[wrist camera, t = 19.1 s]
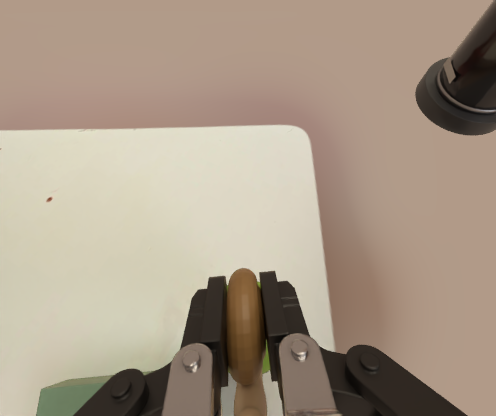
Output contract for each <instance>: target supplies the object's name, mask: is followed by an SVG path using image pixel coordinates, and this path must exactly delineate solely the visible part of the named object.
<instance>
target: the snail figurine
mask: <svg viewBox="0 0 496 416" xmlns="http://www.w3.org/2000/svg"><path fill="white" fill-rule="evenodd" d="M227 291H228V293H227V312H226V326H227V357H228V372H229V373H230V374H231V376H232V378H233V379H234V380H235V381H236V382H237V387H236V394H235V400H234V416H267V404H266V397H265V392H264V388H263V381H262V374H264V373H266V372H268V371H269V370H270V364H269V356H268V348H267V341H266V329H265V319H264V310H263V301H262V293H261V288H260V282H257V279H256V276H255V274H254V273H253V272H252V271H251V270H249V269H246V268H241V269H238V270H236V271H235V272H234V273H233V274H232V276H231V278H230V280H229V285H227Z"/></svg>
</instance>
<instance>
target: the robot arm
mask: <svg viewBox="0 0 496 416" xmlns="http://www.w3.org/2000/svg"><path fill="white" fill-rule="evenodd" d="M435 81H436V87H437V89H438V91H439V93H440V95H441V96H442V97H443V98H444V99H445V100H446V101H447V102H448V103H450V104H451V105H453V106H454V107H456V108H458V109H460V110H462V111H465V112H468V113H472V114H478V115H491V114H496V0H493V2H492V3H491V5H490V6H489V7H488V9H487V10H486V11H485V12H484V14H483V15H482V16H481V18H480V19H479V20H478V22H477V23H476V25H475V26H474V27H473V28H472V30H471V31H470V32H469V34H468V35H467V36H466V38H465V39H464V40H463V41H462V43H461V44H460V45H459V47H458V48H457V49H456V51H455V52H454V53H453V55H452V56H451V57H450V58H448V59H447V60H446V62H445V63H444V64H443V67H442V68H441V69H440V70H439V72H438V73H437V75H436V80H435ZM259 275H260V288H261V293H262V301H263V310H264V319H265V329H266V341H267V348H268V356H269V364H270V371H271V379H272V382H274V381H278V387H279V394H280V398H281V400H282V409H283V416H467V415H466V414H465V413H463V412H462V411H461V410H459V409H458V408H457V407H455V406H454V405H452V404H451V403H450V402H449V401H447V400H446V399H444V398H443V397H442V396H441V395H439V394H438V393H436V392H435V391H434V390H432V389H431V388H430V387H428V386H427V385H426V384H424V383H423V382H422V381H420V380H419V379H418V378H416V377H415V376H413V375H412V374H411V373H410V372H408V371H407V370H406V369H404V368H403V367H402V366H400V365H399V364H398V363H396V362H395V361H393V360H392V359H391V358H389V357H388V356H387V355H386V354H384V353H383V352H381V351H380V350H378V349H376V348H374V347H372V346H368V345H357V346H353V347H352V348H350V349H349V350H348V352H347V354H340V353H336V352H331V351H328V350H325V349H323V348H321V347H320V346H319V345H318V344H317V342H316V341H315V340H314V339H313V338H311V337H310V335H309V332H308V329H307V326H306V323H305V320H304V317H303V314H302V310H301V307H300V305H299V301H298V298H297V295H296V292H295V288H294V287H293V286H292V285H291V284H290V283H289V282H288V281H281V282H277V278H276V274H275V271H268V272H259ZM227 293H228V291H227V284H226V277H225V276H217V277H209V281H208V287H207V289H200V290H198V291H197V292H196V293H195V295H194V296H193V297H192V300H191V305H190V309H189V314H188V318H187V322H186V327H185V331H184V336H183V340H182V345H181V348H180V350H179V351H178V352H177V354H176V355H175V356H174V358H173V360H172V361H171V362H170V363H169V364H168V365H166V366H165V367H163V368H161V369H159V370H156V371H154V372H151V373H149V374H146V375H144V374H143V373H142V372H141V371H140V370H137V369H126V370H123V371H121V372H119V373H117V374H115V375H114V376H113V377H111V378H110V379H109V380H108V381H107V382H106V383H105V384H104V385H103V386H102V387H101V388H100V389H99V390H98V391H97V392H96V393H95V394H94V395H93V396H92V397H91V398H90V399H89V400H88V401H87V402H86V403H85V404H84V405H83V406H82V407H81V408H80V409H79V410H78V411H77V412H76V413H75V414H74V415H73V416H222V404H221V387H225V386H228V357H227V326H226V312H227Z"/></svg>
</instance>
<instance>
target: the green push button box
mask: <svg viewBox="0 0 496 416" xmlns="http://www.w3.org/2000/svg"><path fill="white" fill-rule="evenodd" d="M151 372H154V371H151ZM151 372H142V373H143V374H144V375H146V374H149V373H151ZM113 376H114V375H111V376H101V377H91V378H81V379H71V380H66V381H63V382H60V383H57V384H55V385H52V386H49V387H46V388H43V389H41V393H40V398H39V404H38V409H37V414H36V416H73V415H74V414H75V413H76V412H77V411H78V410H79V409H80V408H81V407H82V406H83V405H84V404H85V403H86V402H87V401H88V400H89V399H90V398H91V397H92V396H93V395H94V394H95V393H96V392H97V391H98V390H99V389H100V388H101V387H102V386H103V385H104V384H105V383H106V382H107V381H108V380H109V379H110V378H111V377H113Z"/></svg>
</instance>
